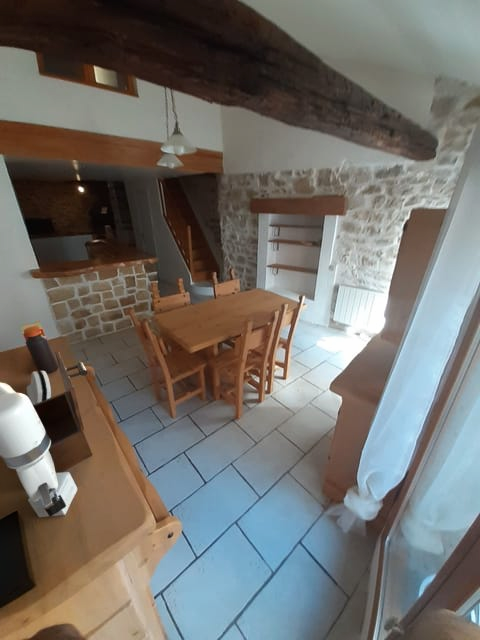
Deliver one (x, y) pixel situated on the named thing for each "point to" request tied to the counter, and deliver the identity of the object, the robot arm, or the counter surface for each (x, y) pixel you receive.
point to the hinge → (39, 387)
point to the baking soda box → (32, 326)
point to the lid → (71, 385)
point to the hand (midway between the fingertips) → (54, 494)
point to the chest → (62, 432)
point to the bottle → (40, 350)
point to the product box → (64, 489)
